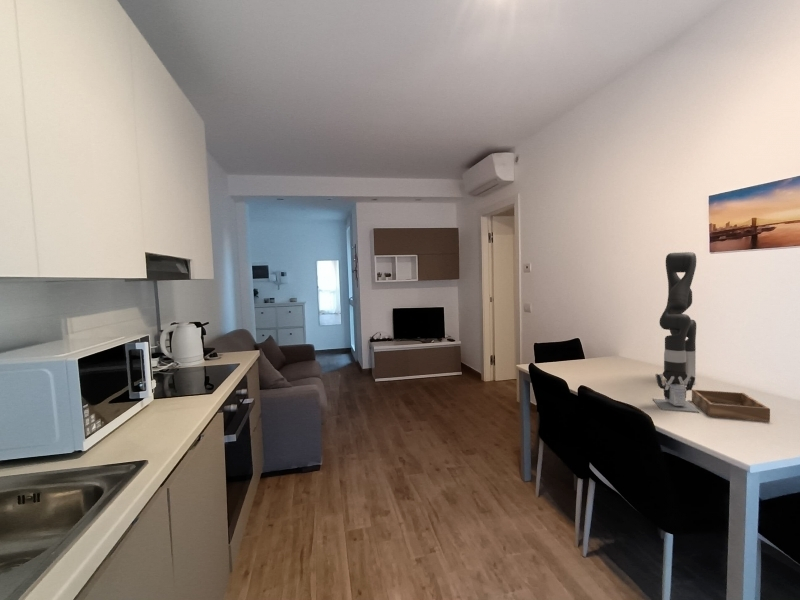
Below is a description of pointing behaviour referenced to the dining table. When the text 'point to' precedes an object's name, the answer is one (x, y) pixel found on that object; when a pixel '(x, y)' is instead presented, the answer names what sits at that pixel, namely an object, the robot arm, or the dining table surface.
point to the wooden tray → (746, 411)
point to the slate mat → (668, 406)
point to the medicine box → (677, 395)
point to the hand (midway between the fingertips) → (674, 398)
